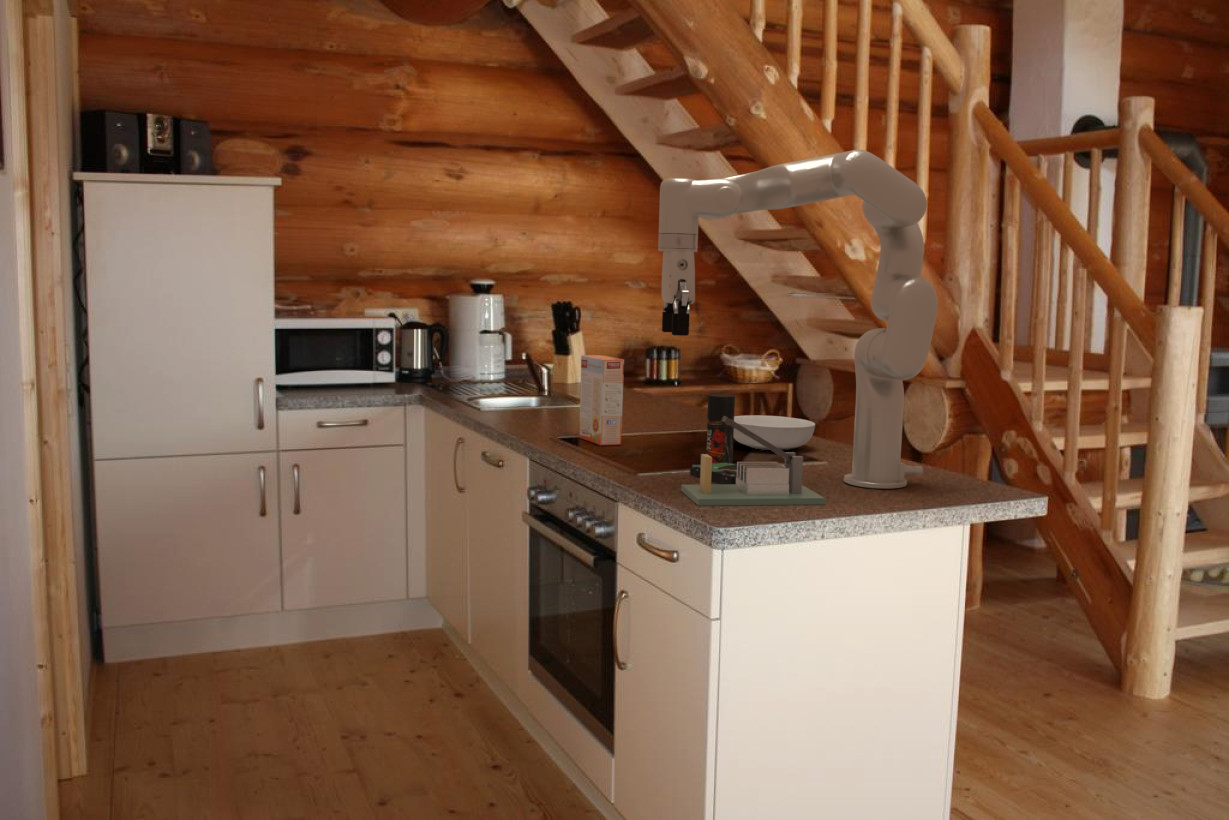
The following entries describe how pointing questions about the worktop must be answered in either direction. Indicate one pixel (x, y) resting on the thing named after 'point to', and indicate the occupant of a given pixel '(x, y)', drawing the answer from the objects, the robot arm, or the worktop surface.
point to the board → (732, 496)
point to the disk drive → (719, 472)
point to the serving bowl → (774, 431)
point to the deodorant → (720, 427)
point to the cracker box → (601, 399)
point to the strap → (758, 439)
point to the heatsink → (762, 478)
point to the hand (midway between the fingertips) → (675, 333)
